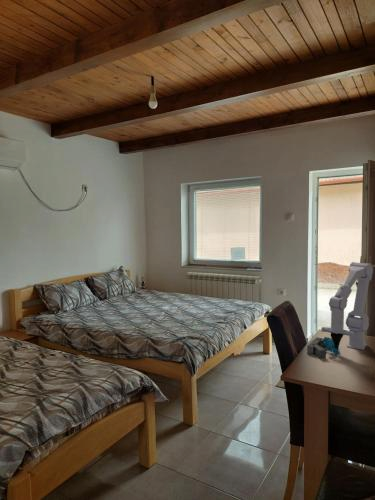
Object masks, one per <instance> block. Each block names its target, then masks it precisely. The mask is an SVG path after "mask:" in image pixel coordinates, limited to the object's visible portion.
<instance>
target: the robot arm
mask: <svg viewBox="0 0 375 500" xmlns="http://www.w3.org/2000/svg"><path fill="white" fill-rule="evenodd" d="M373 273H374V267H373V265H372V263H369V262H368V263H364V262H355V261H352V262H351V263H350V265H349V266H348V275H347V277H346V280H345V282H344V284H341V285H340V286H339V288H338V289H337V291H336V293H335V294H334V296H332V297H330V298H329V302H328V305H329V310H330V312H331V313H330V315H331V316H330V317H331V318H330V327H327V326H322V327H321V330H320V332H321V333H324V332H325V333H330V338H332V340H333V342H334V346H335V348H336V349H338V348H339V347H340V344H341V341H342V339H343V337H344V336H348V344H346V348H351V349H357V350H363V351H364V350H365V348H366V347H367V346H368V345H367V343H365V340H366V339H365V337H366V333H365V332H366V331H367V330H368V329H369V326H370V322H369V321H370V320H369V318H370V317H369V316H368V315H367V314H366V312H365V308H366V302H367V296H368V290H369V284H370V281H371V280H372V279H373ZM356 281H357V287H356V293H355V299H354V303H353V304H354V305H353V310H351V311H349V312H348V314H347V317H346V318H345V309H346V308H347V305H348V299H349V297H350V295H351V293H352V287H353V286H354V284H355V283H356ZM344 319H345V320H344ZM344 324H345V325H346V327H347V329H348V330H347V329H344V327H345V326H344Z"/></svg>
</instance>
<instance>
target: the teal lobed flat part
mask: <svg viewBox="0 0 375 500" xmlns="http://www.w3.org/2000/svg"><path fill="white" fill-rule="evenodd" d="M330 338H331V337H329V336H324V337H323V338H322V339H323V340H324V341H325V342H324V344H326V345H327V346H326V347H327V348H324V349H325V350H326V352H327V351H328V350H329V352H330V353H332V354H333V355H336V356H339V355H340V349H339V348H338V349H336V348H335V346H334V343H332V342H333V340H329V339H330Z"/></svg>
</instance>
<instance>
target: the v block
mask: <svg viewBox="0 0 375 500" xmlns="http://www.w3.org/2000/svg"><path fill="white" fill-rule="evenodd" d="M329 338H330V339H329V340H332V338H331V337H329ZM323 339H324V338H322V337H318V336H316V337H315V338H314V339H312V341H311V342H310V343H308V344H307V345H306V354H308V355H312V356H313V355H314V356H315V357H317V358H318V359H320V360H323V359H326V358H327V351H326V350H325V349H326V348H327V347H326V346H327V345H326V344H324V342H325V341H324V340H323ZM332 343H334V342H332Z"/></svg>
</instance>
